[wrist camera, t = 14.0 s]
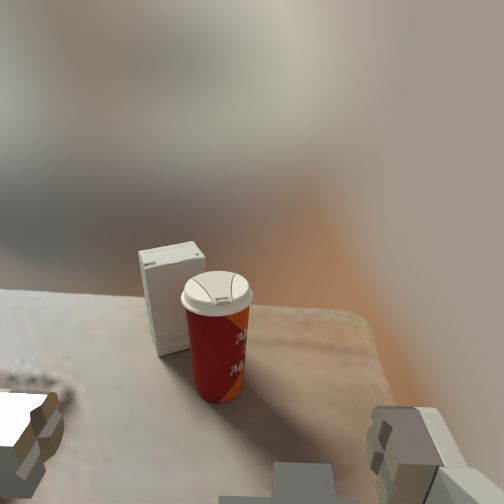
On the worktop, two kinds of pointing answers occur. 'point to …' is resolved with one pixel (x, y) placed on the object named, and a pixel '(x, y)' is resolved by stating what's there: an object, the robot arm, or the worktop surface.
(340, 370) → the worktop surface
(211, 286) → the coffee cup
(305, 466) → the plug block
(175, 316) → the skincare box
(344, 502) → the slate board
